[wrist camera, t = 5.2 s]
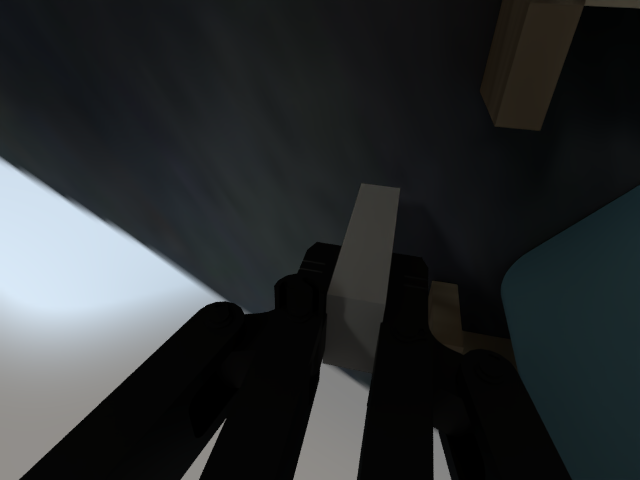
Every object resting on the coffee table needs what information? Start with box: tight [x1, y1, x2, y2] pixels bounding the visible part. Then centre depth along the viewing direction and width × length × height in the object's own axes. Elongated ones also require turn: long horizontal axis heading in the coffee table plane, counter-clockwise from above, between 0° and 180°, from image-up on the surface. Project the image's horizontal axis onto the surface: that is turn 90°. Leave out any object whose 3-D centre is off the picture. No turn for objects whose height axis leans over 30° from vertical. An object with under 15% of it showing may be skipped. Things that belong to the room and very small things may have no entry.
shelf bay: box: [428, 0, 640, 374], centre depth 15 cm, size 11×17×4 cm, turn 178°
